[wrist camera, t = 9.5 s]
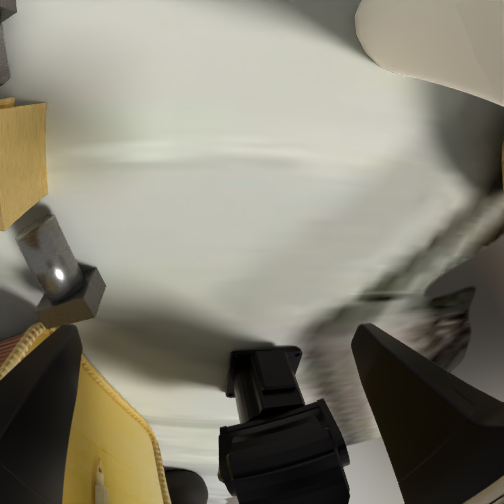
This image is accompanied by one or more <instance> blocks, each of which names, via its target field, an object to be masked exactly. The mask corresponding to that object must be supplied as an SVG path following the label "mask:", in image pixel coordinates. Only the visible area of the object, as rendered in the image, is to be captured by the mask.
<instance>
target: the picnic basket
mask: <svg viewBox="0 0 504 504" xmlns="http://www.w3.org/2000/svg"><path fill="white" fill-rule="evenodd" d="M56 329H57V327H54V328H50V329H46V328H45V327H44V325H43V324H42V323H41V322H37V323H35V324H33V325H32V326H30V327H29V328H28V329H27V331H26V332H25V333H23V334H20V335H17V336H14V337H11V338H8V339H5V340H2V341H0V380H1V379H2V378H3V377H4V376H5V375H6V374H7V373H8V372H9V371H10V370H11V369H13V368H14V367H15V366H16V365H17V364H18V363H19V362H20V361H21V360H22V359H23V358H24V357H26V356H27V355H28V354H29V353H30V352H31V351H32V350H33V349H34V348H36V347H37V346H38V345H39V344H40V343H41V342H42V341H44V340H45V339H46V338H47V337H48V336H49V335H50V334H52V333H53V332H54V331H55V330H56ZM62 504H171V501H170V496H169V492H168V487H167V483H166V478H165V473H164V468H163V463H162V457H161V452H160V448H159V445H158V442H157V440H156V437H155V435H154V433H153V431H152V430H151V428H150V426H149V425H148V423H147V422H146V421H145V420H144V418H143V417H142V416H141V415H140V414H139V413H138V412H137V411H136V410H135V409H134V408H133V407H132V406H131V405H130V404H129V403H128V402H127V401H126V400H125V399H124V398H123V397H122V396H121V395H120V394H119V393H118V392H117V391H116V390H115V389H114V388H113V387H112V386H111V385H110V384H109V383H108V382H107V381H106V380H105V379H104V378H103V376H102V375H101V374H100V373H99V372H98V371H97V370H96V369H95V368H94V366H93V365H92V364H91V363H90V362H89V361H88V360H87V358H86V357H85V356H84V355H83V354H82V356H81V364H80V373H79V382H78V392H77V398H76V403H75V409H74V414H73V419H72V425H71V431H70V437H69V444H68V451H67V459H66V467H65V477H64V487H63V501H62Z"/></svg>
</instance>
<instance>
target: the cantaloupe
mask: <svg viewBox="0 0 504 504" xmlns="http://www.w3.org/2000/svg"><path fill="white" fill-rule="evenodd" d="M502 179H503V190H504V142H503V145H502Z"/></svg>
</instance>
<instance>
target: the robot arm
mask: <svg viewBox="0 0 504 504" xmlns="http://www.w3.org/2000/svg"><path fill="white" fill-rule="evenodd" d="M351 348H352V352H353V355H354V359H355V362H356V366H357V369H358V373H359V377H360V380H361V383H362V386H363V389H364V392H365V394H366V397H367V399H368V402H369V404H370V407H371V409H372V412H373V415H374V417H375V420H376V423H377V425H378V428H379V431H380V433H381V436H382V439H383V441H384V444H385V447H386V450H387V452H388V455H389V458H390V461H391V464H392V466H393V469H394V472H395V475H396V478H397V481H398V482H399V483H398V484H399V487H400V490H401V493H402V496H403V499H404V502H405V504H504V402H501V401H499V400H497V399H495V398H493V397H492V396H489V395H488V394H486V393H484V392H482V391H480V390H478V389H476V388H474V387H473V386H471V385H469V384H467V383H466V382H464V381H462V380H461V379H459V378H457V377H455V376H454V375H452V374H451V373H448V371H446V370H445V369H443V368H441V367H440V366H438V365H437V364H435V363H434V362H432V361H430V360H429V359H427V358H426V357H424V356H422V355H421V354H419V353H418V352H416V351H415V350H413V349H411V348H410V347H408V346H407V345H405V344H403V343H402V342H400V341H399V340H397V339H395V338H394V337H392V336H391V335H389V334H388V333H386V332H384V331H383V330H381V329H380V328H378V327H376V326H375V325H373V324H371V323H362V324H360V325H359V326H358V327H357V330H356V332H355V334H354V337H353V339H352V342H351ZM296 353H297V354H296ZM81 356H82V344H81V340H80V337H79V333H78V330H77V327H76V325H74V324H62V325H61V326H60V327H58V328H57V329H56V330H55V331H54V332H53V333H52V334H50V335H49V336H48V337H47V338H46V339H45V340H44V341H42V342H41V343H40V344H39V345H38V346H37V347H36V348H34V349H33V350H32V351H31V352H30V353H29V354H28V355H27V356H26V357H24V358H23V359H22V360H21V361H20V362H19V363H18V364H17V365H16V366H15V367H14V368H13V369H11V370H10V371H9V372H8V373H7V374H6V375H5V376H4V377H3V378H2V379H1V380H0V504H62V501H63V487H64V477H65V467H66V459H67V451H68V444H69V437H70V431H71V425H72V419H73V414H74V409H75V403H76V398H77V392H78V382H79V373H80V364H81ZM235 356H237V357H235ZM301 357H302V351H301V349H299V348H291V349H274V350H251V351H234V352H232V353H231V354H230V359H229V367H228V375H227V383H226V391H225V393H226V396H227V397H229V398H234V397H235V398H236V404H237V409H238V414H239V420H240V424H237V425H233V426H228V427H227V426H224V427H220V435H219V470H218V479H219V480H220V481H221V482H223V483H225V485H226V487H227V489H228V491H229V493H230V494H231V495H232V496H237V499H238V501H239V504H348V502H349V498H350V494H349V490H350V489H349V485H348V482H347V479H346V475H345V472H344V469H343V467H344V466H347V465H349V464H350V460H349V455H348V452H347V448H346V445H345V442H344V439H343V437H342V434H341V432H340V430H339V428H338V426H337V424H336V422H335V420H334V418H333V416H332V414H331V412H330V410H329V408H328V406H327V404H326V403H325V401H324V399H323V398H322V399H320V400H317V402H314V403H311V404H308V405H305V402H304V399H303V396H302V394H301V391H300V388H299V385H298V383H297V380H296V377H295V374H296V371H297V368H298V365H299V362H300V359H301Z"/></svg>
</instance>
